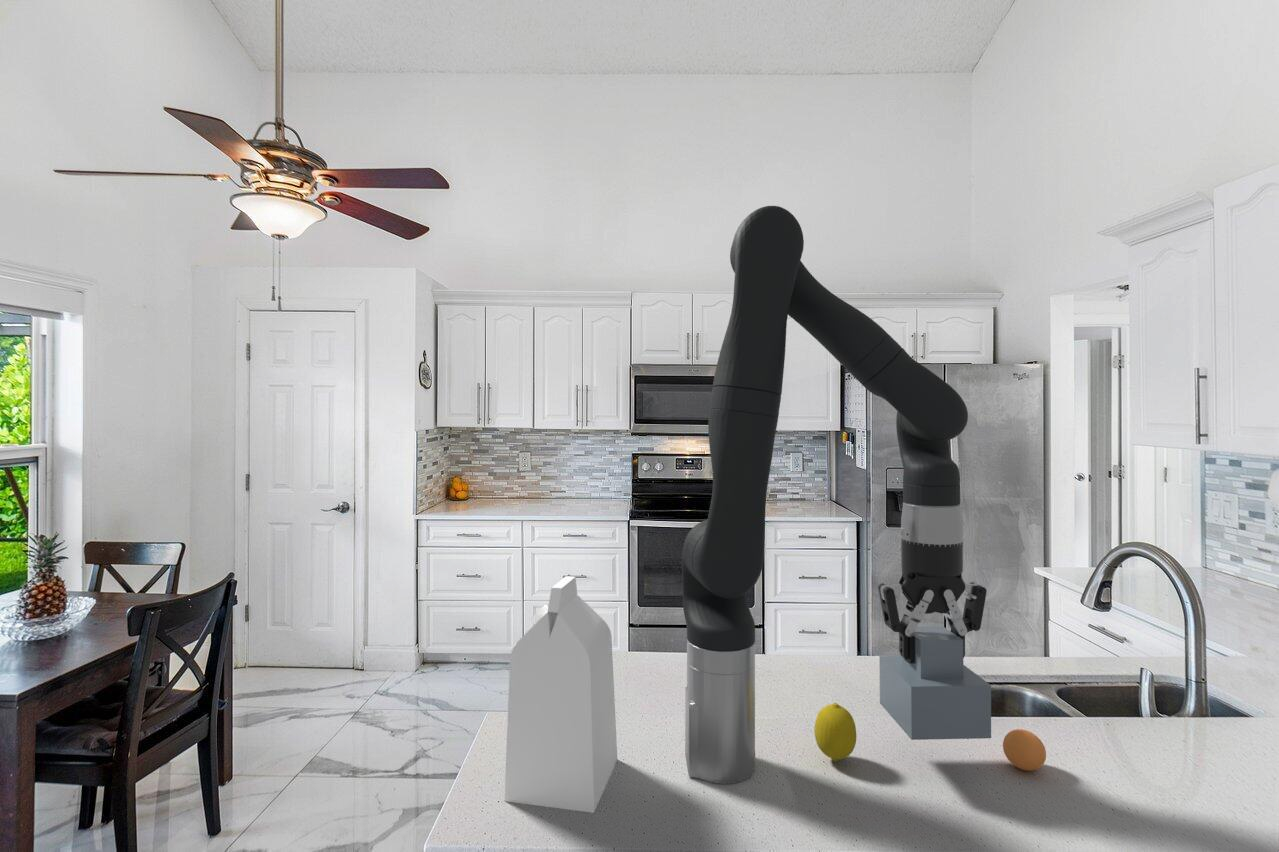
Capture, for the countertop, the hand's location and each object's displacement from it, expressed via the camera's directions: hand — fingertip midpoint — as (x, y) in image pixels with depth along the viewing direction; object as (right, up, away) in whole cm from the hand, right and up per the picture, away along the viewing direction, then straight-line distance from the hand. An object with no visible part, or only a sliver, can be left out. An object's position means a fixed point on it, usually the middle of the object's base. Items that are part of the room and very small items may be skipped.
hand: (932, 660), depth 85 cm
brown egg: (+12, -12, 0) cm, 17 cm away
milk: (-49, -15, -2) cm, 52 cm away
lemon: (-13, -15, +2) cm, 20 cm away
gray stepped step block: (0, -8, 0) cm, 8 cm away
